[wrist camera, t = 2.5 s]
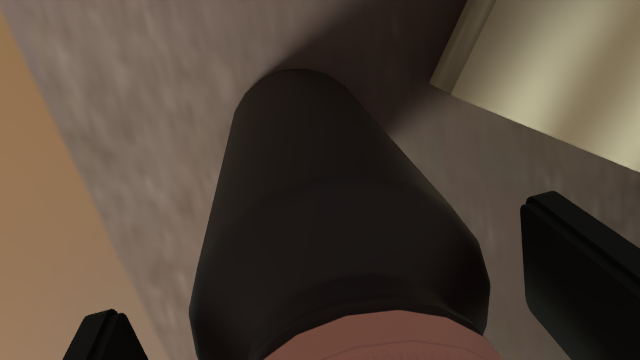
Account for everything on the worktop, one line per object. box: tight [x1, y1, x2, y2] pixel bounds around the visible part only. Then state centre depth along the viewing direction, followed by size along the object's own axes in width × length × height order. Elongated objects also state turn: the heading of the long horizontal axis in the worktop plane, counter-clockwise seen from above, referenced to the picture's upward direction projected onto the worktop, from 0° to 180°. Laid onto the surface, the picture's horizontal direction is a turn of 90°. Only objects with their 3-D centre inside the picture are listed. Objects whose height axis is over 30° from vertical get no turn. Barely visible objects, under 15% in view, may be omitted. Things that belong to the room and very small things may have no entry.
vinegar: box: [189, 69, 504, 360], centre depth 15 cm, size 7×7×20 cm
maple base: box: [429, 0, 640, 172], centre depth 22 cm, size 14×14×3 cm
